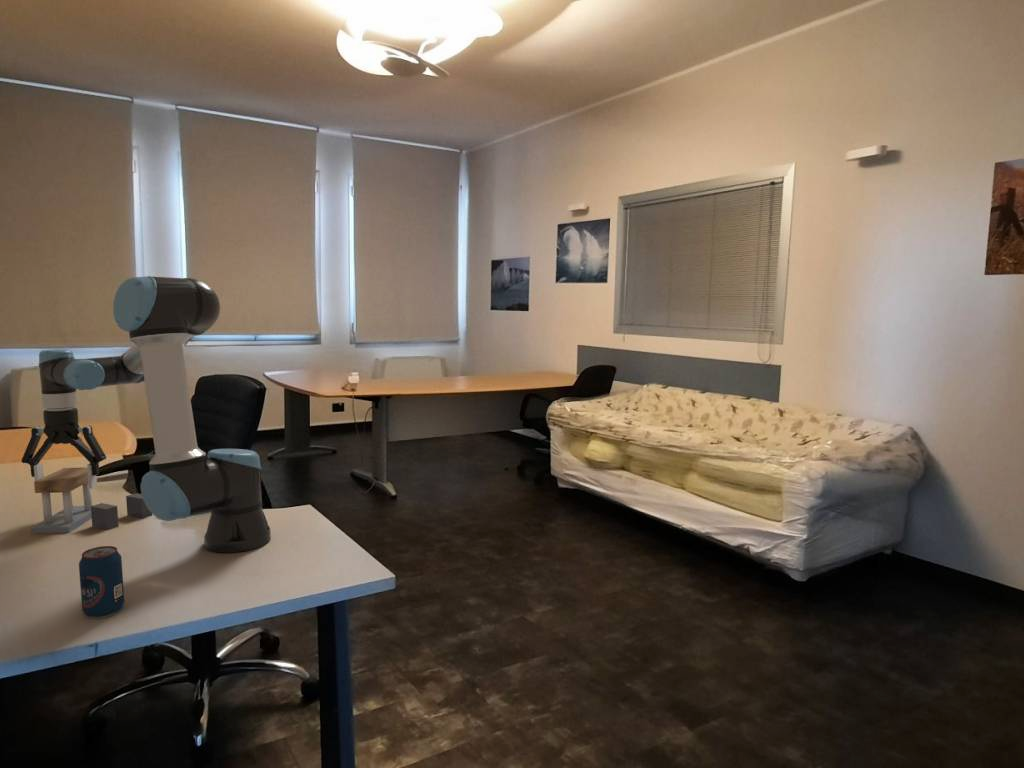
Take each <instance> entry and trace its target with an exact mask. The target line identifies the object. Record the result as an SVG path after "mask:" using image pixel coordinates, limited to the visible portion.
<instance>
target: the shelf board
mask: <svg viewBox="0 0 1024 768" xmlns="http://www.w3.org/2000/svg"><path fill="white" fill-rule="evenodd" d="M87 482H88V470H87V466H86V467H85V466H84V467H63V468H61V469H58V470H57V471H54V472H52V473H50V474H47V475H45V476H44V477H43V478H41V479H39V480H37V481H35V480H34V482H33V484H34V485H33V486H34V494H42V493H50V494H52V493H56V494H58V493H62V492H70V491H74V490H75V489H78V488H79V487H81V486H83V484H85V483H87Z"/></svg>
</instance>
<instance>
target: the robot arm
mask: <svg viewBox="0 0 1024 768" xmlns="http://www.w3.org/2000/svg"><path fill="white" fill-rule="evenodd" d="M112 311H113V318H114V322H115V323H116V324H117V326H118V328H119V329H121V330H123V331H125V332H128V335H129V339H130V342H132V343H133V344H132V346H131V347H129V348H128V349H127V350H126V351H125V352H123V354H121V355H118V356H117V355H116V356H106V357H105V356H104V357H92V358H91V357H89V358H75V356H74V352H73V350H72V349H67V348H62V349H61V348H57V349H56V348H55V349H52V348H51V349H44V350H41V351H40V352H39V353H38V369H39V377H40V379H39V380H40V388H41V400H42V401H41V402H42V403H41V404H42V408H43V409H44V411H43V412H42V413H43V414H42V415H43V423H44V427H42V426H35V427H33V428H31V430H30V431H31V436H30V439H29V441H28V444H27V446H26V447H25V448H26V449H25V451H24V454H23V456H22V457H21V463H22V464H28V465H29V466H30V475H31V477H32V478H34V481H37V480H39V479H41V478H43V477H45V476H44V464H43V462H41V460H42V459H43V458H44V456H46V454H47V453H48V452H49V450H50V448H52V446H53V445H59V444H63V445H68V444H70V445H71V446H73V447H74V448H75V449H76V450H77V451H78V452H79V453H80V454H81V455H82V456H83V457H84V458H85V460H86V461H88V462H89V463H88V464H87V466H86V467H87V470H88V483H89V489H91V490H92V489H94V488H96V487H97V486H98V482H97V479H98V478H97V476H98V475H100V462H102V461H105V460H106V459H107V456H106V454H105V452H104V451H103V449H102V447H101V445H100V443H99V442H98V439H97V438H96V436H95V434H94V432H93V427H92V425H86V426H83V427H80V425H79V411H78V408H77V406H78V400H77V390H79V391H89V390H90V391H91V390H94V389H96V388H100V387H110V386H119V385H129V384H141V383H144V387H145V393H146V399H147V407H148V408H147V409H148V413H149V419H150V427H151V432H152V433H151V434H152V438H153V439H152V441H153V446H154V450H155V451H154V452H155V454H154V456H153V457H152V458H151V459H150V461H149V462H148V464H149V471H148V472H146V473H145V474H144V475H143V476H142V478H141V482H140V492H141V493H140V494H142V497H143V500H144V502H145V504H146V506H147V508H148V509H149V510H150V511H151V512H152V516H154V517H156V518H157V519H159V520H162V521H165V522H171V521H175V520H179V519H187V518H188V517H190V516H193V515H196V514H200V513H203V512H207V511H210V517H209V520H208V524H207V529H206V532H205V535H204V541H203V542H204V543H203V544H204V548H205V549H206V550H208V551H210V552H214V553H222V554H226V553H227V554H230V553H241V552H246V551H250V550H255V549H258V548H261V547H262V546H265V545H266V544H267V543H269V542H271V541H270V540H271V537H272V536H271V535H272V534H271V527H270V526H269V523H268V520H267V518H266V515H265V513H264V509H263V502H262V501H263V500H262V499H263V498H262V474H261V473H262V471H261V470H262V467H261V461H260V455H259V454H258V453H257V451H254V450H250V449H244V448H243V449H241V448H215V449H211V450H209V451H208V452H207V453H206V452H205V451H204V450H202V449H201V448H200V447H199V446H198V441H197V433H196V427H195V420H194V412H193V408H192V401H191V396H190V395H191V394H190V393H191V392H190V386H189V381H188V375H187V374H188V373H187V368H186V361H185V353H184V348H183V345H184V344H186V343H187V341H189V340H190V339H191V338H192V337H194V336H200V335H203V334H205V333H206V332H207V331H208V330H210V329H211V327H213V326H214V325H215V323H216V321H217V320H218V319H219V315H220V314H221V313H220V312H221V302H220V300H219V297H218V294H217V292H216V291H215V290H214V289H213V288H212V287H211V286H210V284H209V285H208V283H206V282H204V281H202V280H200V279H196V278H191V277H189V278H188V277H182V278H181V277H168V276H167V277H165V276H164V277H163V276H149V275H148V276H134V277H129V278H126V279H125V280H124V281H123V282H121V283H120V284H119V286H118V288H117V290H116V292H115V294H114V298H113V305H112ZM80 433H81V434H80ZM43 434H45V436H46V437H47V438H46V439H45V440H44V441H43V444H42V445H41V446H40V448H39V449H38V450H37V447H38V445H39V443H40V441H41V439H42V436H43ZM79 434H80V435H82V436H83V438H84V440H85V441H86V443H87V444H85V442H83V439H82V438H81V437H80V436H79ZM36 450H37V452H36Z"/></svg>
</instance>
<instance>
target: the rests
mask: <svg viewBox="0 0 1024 768" xmlns="http://www.w3.org/2000/svg"><path fill="white" fill-rule="evenodd" d="M125 498H126V499H125V501H126V515H127V516H129V517H134V518H139V519H145V518H148V517H151V516H153V513H152V512H151V511H150V510H149V509H148V508H147V506H146V504H145V502H144V500H143V497H142V494H141V493H137V492H136V493H132V494H128V495H126V496H125ZM91 516H92V518H91V526H92V527H93V528H97V529H102V530H107V531H108V530H109V531H110V530H111V529H115V528H117V527H119V512H118V505H115V504H109V503H104V502H103V503H102V502H100V503H97V504H94V505H93V504H92V506H91Z"/></svg>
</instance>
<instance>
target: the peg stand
mask: <svg viewBox="0 0 1024 768" xmlns="http://www.w3.org/2000/svg"><path fill="white" fill-rule="evenodd" d="M72 491H73V490H72ZM72 491H70V492H61V493H62V495H61V496H62V505H63V509H62V510H60V511H58V512H57V513H55V514H53V512H52V500H51V493H41V502H42V504H41V505H42V514H43V520H42V521H41V522H39V523H37V524H35V525H33V526H31V528H30V532H31V533H30V534H32V535H33V534H35V535H36V534H64V533H66V534H67V533H71V532H72V531H74V530H75V529H77V528H79V527H80V526H82V525H83V524H85V523H87V522H88V521H89V520H92V516H91V506H93V503H92V489H89V483H88V482H87V483H85V484H83V485H82V493H83V495H82V496H83V505H73V496H72V495H73V493H72Z"/></svg>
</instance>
